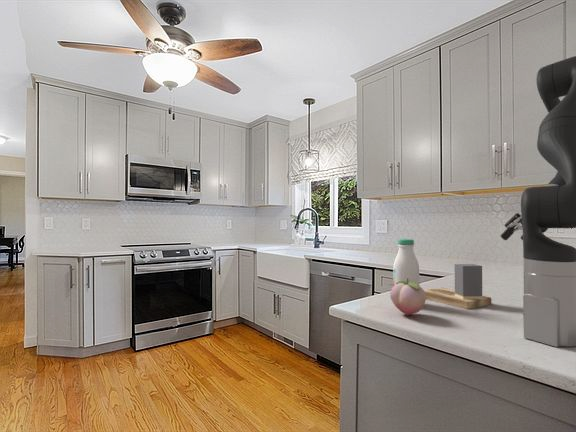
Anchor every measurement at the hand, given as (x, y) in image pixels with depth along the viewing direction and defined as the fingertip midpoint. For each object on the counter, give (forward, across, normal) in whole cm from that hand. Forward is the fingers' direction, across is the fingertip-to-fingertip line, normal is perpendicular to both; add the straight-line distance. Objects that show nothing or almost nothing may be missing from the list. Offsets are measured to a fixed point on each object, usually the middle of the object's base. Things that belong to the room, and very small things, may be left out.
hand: (512, 239), depth 100 cm
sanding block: (+22, -1, +3) cm, 23 cm away
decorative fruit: (+40, +10, -12) cm, 43 cm away
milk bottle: (+38, -2, -9) cm, 39 cm away
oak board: (+25, -6, +3) cm, 26 cm away
